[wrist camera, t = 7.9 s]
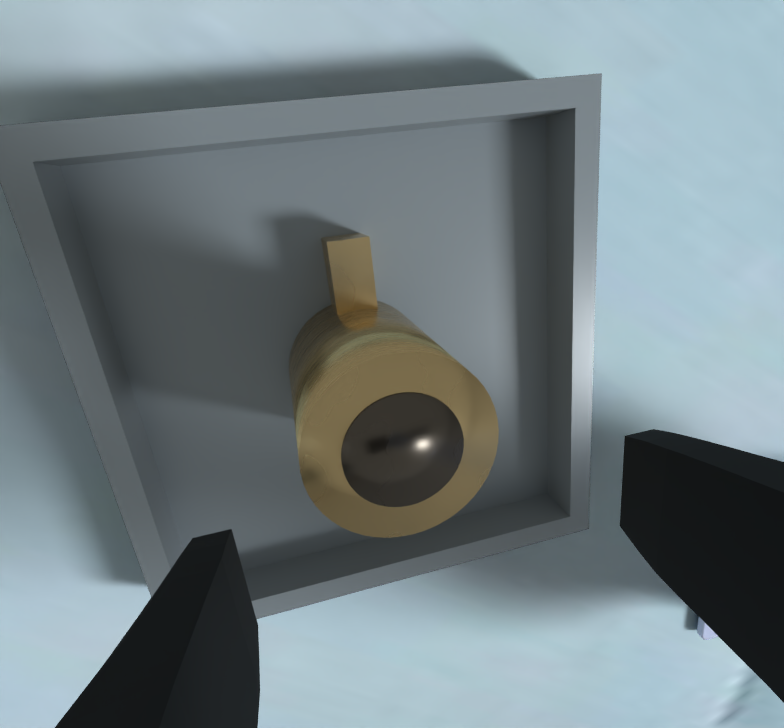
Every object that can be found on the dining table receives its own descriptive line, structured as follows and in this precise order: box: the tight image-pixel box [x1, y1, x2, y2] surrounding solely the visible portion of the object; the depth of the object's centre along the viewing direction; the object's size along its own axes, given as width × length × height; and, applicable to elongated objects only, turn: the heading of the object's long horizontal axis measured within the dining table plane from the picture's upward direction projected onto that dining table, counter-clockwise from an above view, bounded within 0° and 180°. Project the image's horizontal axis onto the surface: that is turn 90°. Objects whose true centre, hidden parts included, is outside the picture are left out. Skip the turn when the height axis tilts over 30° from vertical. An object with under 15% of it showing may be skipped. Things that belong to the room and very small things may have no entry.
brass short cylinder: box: [289, 233, 499, 538], centre depth 13 cm, size 7×5×6 cm
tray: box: [0, 73, 602, 619], centre depth 16 cm, size 16×16×2 cm
